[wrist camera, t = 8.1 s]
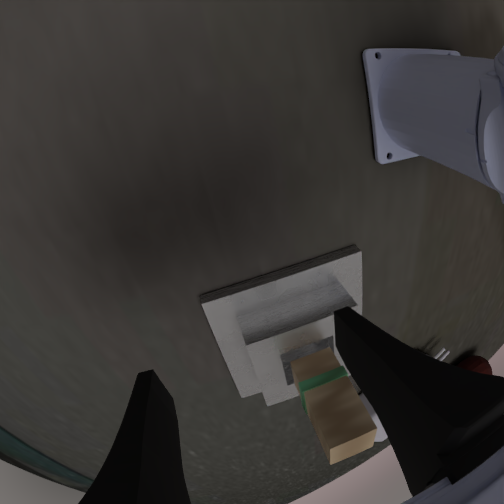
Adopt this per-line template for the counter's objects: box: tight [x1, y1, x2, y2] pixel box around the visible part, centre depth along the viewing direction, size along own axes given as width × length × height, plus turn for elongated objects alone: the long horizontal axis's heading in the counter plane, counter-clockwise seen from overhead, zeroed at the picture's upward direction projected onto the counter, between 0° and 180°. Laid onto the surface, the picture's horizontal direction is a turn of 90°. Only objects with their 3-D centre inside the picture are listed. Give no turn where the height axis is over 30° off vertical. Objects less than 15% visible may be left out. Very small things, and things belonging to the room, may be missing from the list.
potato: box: [456, 356, 492, 375], centre depth 38 cm, size 7×8×7 cm
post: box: [290, 347, 377, 465], centre depth 19 cm, size 3×3×7 cm
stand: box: [200, 245, 362, 406], centre depth 25 cm, size 12×12×4 cm
